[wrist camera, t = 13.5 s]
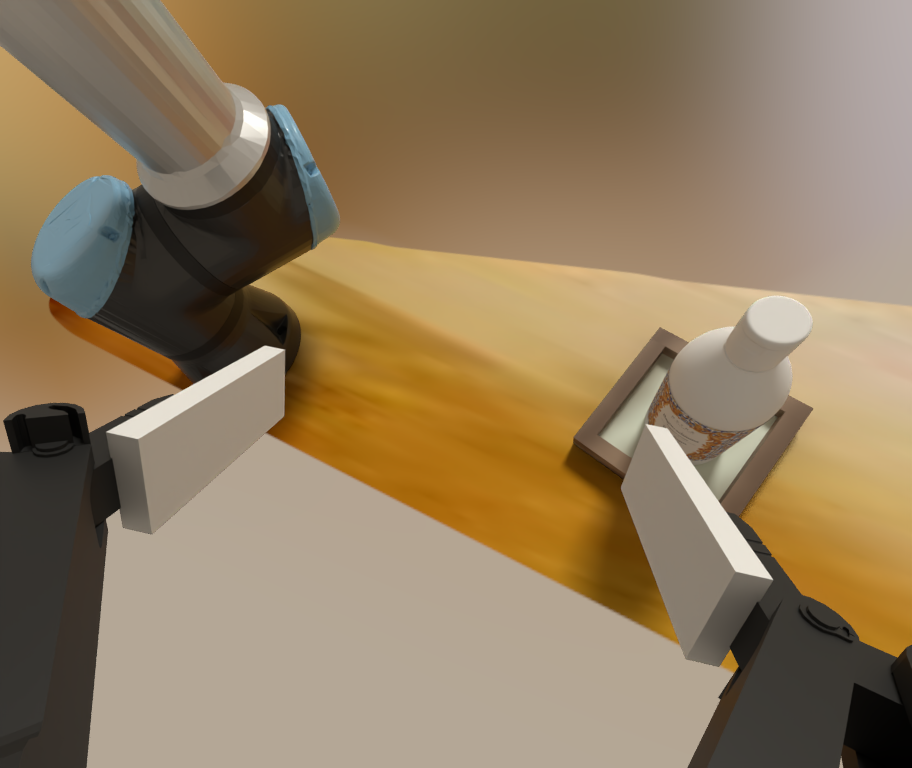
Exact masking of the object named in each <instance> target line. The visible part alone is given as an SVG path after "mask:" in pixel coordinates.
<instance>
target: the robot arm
mask: <svg viewBox="0 0 912 768" xmlns="http://www.w3.org/2000/svg"><path fill="white" fill-rule="evenodd" d="M0 46H1V47H3V48H4V49H5V50H6V51H8V52H9V53H10V54H11V55H12V56H13V57H15V58H16V59H17V60H18V61H20V62H21V63H22V64H23V65H24V66H26V67H27V68H28V69H29V70H30V71H31V72H33V73H34V74H35V75H36V76H37V77H39V78H40V79H41V80H42V81H44V82H45V83H46V84H47V85H48V86H49V87H51V88H52V89H53V90H54V91H55V92H57V93H58V94H59V95H60V96H62V97H63V98H64V99H65V100H66V101H67V102H69V103H70V104H71V105H72V106H73V107H75V108H76V109H77V110H78V111H80V112H81V113H82V114H83V115H84V116H85V117H87V118H88V119H89V120H90V121H91V122H93V123H94V124H95V125H97V127H99V128H100V129H101V130H102V131H104V132H105V133H106V134H107V135H108V136H109V137H111V138H112V139H113V140H114V141H116V142H117V143H118V144H119V145H120V146H122V147H123V148H124V149H125V150H126V151H128V152H129V153H130V154H131V155H132V156H134V157H135V158H136V159H137V171H138V175H139V179H140V181H141V183H142V185H140V186H139V187H137V188H135V189H133V190H132V189H131V188H130V187H129V185H128V184H126V183H125V182H124V181H121V180H118V179H116V178H114V177H112V176H108V175H103V176H101V177H92V178H89V179H87V180H85V181H84V182H82V183H80V184H79V185H77V186H76V187H75V188H73V189H72V190H71V191H70V192H69V193H68V194H67V195H66V196H65V197H64V198H63V199H62V200H61V201H60V202H59V203H58V204H57V205H56V207H55V208H54V209H53V211H52V212H51V213H50V215H49V216H48V218H47V219H46V221H45V223H44V224H43V226H42V228H41V230H40V232H39V234H38V236H37V239H36V241H35V245H34V249H33V252H32V259H31V268H32V274H33V277H34V279H35V282H36V284H37V285H38V287H39V288H40V289H41V290H42V291H43V292H44V293H45V294H47V295H48V296H49V297H51V298H53V299H55V300H56V301H58V302H60V303H61V304H63V305H65V306H66V307H68V308H70V309H71V310H73V311H75V312H76V313H77V314H78V315H79V316H81V317H84V318H88V319H90V320H92V321H94V322H96V323H98V324H100V325H102V326H104V327H106V328H108V329H110V330H113V331H115V332H117V333H119V334H121V335H123V336H125V337H127V338H129V339H131V340H133V341H135V342H137V343H139V344H141V345H143V346H145V347H147V348H149V349H151V350H153V351H155V352H157V353H159V354H161V355H163V356H165V357H167V358H169V359H171V360H172V361H173V362H174V363H175V364H176V365H177V366H178V367H179V368H180V369H181V370H182V372H183V373H184V374H185V375H186V376H187V377H188V378H189V379H190V380H191V381H192V382H193V385H192V386H190V387H188V388H186V389H184V390H182V391H181V392H179V393H177V394H175V395H174V394H172V395H168V396H164V397H161V398H157V399H154V400H151V401H150V402H148V403H146V404H144V405H142V406H140V407H138V408H137V410H135V409H134V410H132V411H130V412H128V413H127V414H125V416H121V417H119V418H117V419H115V420H113V421H111V422H109V423H107V424H106V425H104V426H102V427H100V428H98V429H96V430H94V431H92V432H90V433H89V431H88V426H87V421H86V415H85V411H84V409H83V408H82V407H80V406H78V405H75V404H69V403H48V404H41V405H35V406H32V407H28V408H25V409H21V410H18V411H16V412H14V413H12V414H10V415H9V416H8V417H7V418H5V419H4V421H3V422H4V425H5V429H6V432H7V436H8V439H9V443H10V447H11V450H12V452H0V768H86V767H87V756H88V744H89V734H90V722H91V711H92V700H93V690H94V679H95V668H96V656H97V646H98V634H99V623H100V611H101V601H102V589H103V579H104V568H105V567H104V566H105V556H106V545H107V535H108V528H107V523H106V518H108V517H109V516H111V515H112V514H113V513H114V512H116V511H117V510H118V509H120V514H121V519H122V525H123V528H127V529H131V530H135V531H139V532H144V533H148V534H153V533H154V532H155V531H156V530H157V529H159V528H160V527H161V526H162V525H163V524H164V523H165V522H166V521H168V520H169V519H170V518H171V517H172V516H173V515H174V514H175V513H177V512H178V511H179V510H180V509H181V508H182V507H183V506H184V505H185V504H187V503H188V502H189V501H190V500H191V499H192V498H193V497H194V496H195V495H196V494H198V493H199V492H200V491H201V490H202V489H203V488H204V487H206V486H207V485H208V484H209V483H210V482H211V481H212V480H213V479H214V478H216V476H218V475H219V474H220V473H221V472H222V471H223V470H225V469H226V468H227V467H228V466H229V465H230V464H231V463H232V462H234V461H235V460H236V459H237V458H238V457H239V456H240V455H241V454H243V453H244V452H245V451H246V450H247V449H248V448H249V447H250V446H251V445H253V444H254V443H255V442H256V441H257V440H258V439H259V438H260V437H261V436H262V435H264V434H265V433H266V432H267V431H268V430H269V429H270V428H272V427H273V426H274V425H275V424H276V423H277V422H278V421H279V420H281V419H282V418H283V417H284V406H285V374H286V372H287V371H288V369H289V368H290V366H291V365H292V363H293V361H294V359H295V357H296V354H297V352H298V349H299V344H300V337H301V330H300V324H299V320H298V318H297V316H296V314H295V312H294V311H293V310H292V309H291V308H290V307H289V306H288V305H287V304H286V303H285V302H284V301H282V300H281V299H280V298H279V297H277V296H276V295H274V294H272V293H270V292H267V291H264V290H262V289H259V288H256V287H254V286H251V285H249V284H251V283H253V282H254V281H256V280H258V279H260V278H261V277H263V276H265V275H267V274H269V273H270V272H272V271H274V270H276V269H277V268H279V267H281V266H283V265H285V264H286V263H288V262H290V261H292V260H293V259H295V258H297V257H299V256H301V255H302V254H304V253H306V252H308V251H309V250H313V249H315V247H316V246H317V244H319V243H320V242H322V241H323V240H325V239H326V238H328V237H329V236H330V235H332V234H333V233H335V231H336V230H337V229H338V227H339V223H340V216H339V212H338V210H337V208H336V205H335V202H334V200H333V198H332V196H331V194H330V192H329V189H328V187H327V185H326V183H325V181H324V179H323V177H322V175H321V173H320V171H319V169H318V168H317V166H316V163H315V161H314V159H313V158H312V155H311V153H310V151H309V149H308V147H307V145H306V143H305V141H304V139H303V137H302V135H301V133H300V131H299V129H298V127H297V125H296V124H295V122H294V120H293V118H292V116H291V115H290V113H289V111H288V110H287V108H286V107H284V106H283V105H275V106H268V107H267V108H265V107H264V106H263V104H262V103H261V102H260V101H259V99H258V98H257V97H256V96H255V95H254V94H253V93H251V92H250V91H249V90H247V89H245V88H243V87H241V86H238V85H235V84H229V83H223V82H222V81H221V80H220V79H219V77H218V76H217V75H216V73H215V72H214V71H213V69H212V68H211V67H210V65H209V64H208V63H207V61H206V60H205V59H204V57H203V56H202V55H201V53H200V52H199V51H198V49H197V48H196V47H195V46H194V44H193V43H192V42H191V41H190V39H189V38H188V36H187V35H186V34H185V32H184V31H183V30H182V28H181V27H180V26H179V24H178V23H177V22H176V20H175V19H174V18H173V16H172V15H171V14H170V13H169V11H168V10H167V9H166V7H165V6H164V5H163V3H162V2H161V1H160V0H0ZM621 491H622V493H623V496H624V498H625V501H626V504H627V506H628V509H629V512H630V514H631V517H632V519H633V522H634V525H635V527H636V530H637V533H638V535H639V538H640V541H641V543H642V546H643V548H644V551H645V554H646V556H647V559H648V562H649V564H650V567H651V569H652V572H653V575H654V577H655V580H656V583H657V585H658V588H659V590H660V593H661V596H662V598H663V601H664V604H665V606H666V609H667V612H668V614H669V617H670V619H671V622H672V625H673V627H674V630H675V633H676V635H677V638H678V640H679V643H680V646H681V648H682V651H683V654H684V656H685V659H687V660H692V661H696V662H701V663H704V664H709V665H713V666H717V667H719V666H720V665H721V663H722V661H723V660H724V658H725V657H726V655H727V653H728V652H729V650H730V649H731V651H732V653H733V655H734V657H735V659H736V661H737V663H738V665H739V667H738V668H737V670H736V671H735V673H734V674H733V676H732V678H731V679H730V680H729V682H728V684H727V685H726V687H725V688H724V690H723V691H722V693H721V694H720V696H719V698H720V699H721V700H720V702H719V705H718V706H717V708H716V710H715V712H714V715H713V717H712V719H711V721H710V723H709V725H708V727H707V729H706V731H705V733H704V735H703V737H702V739H701V741H700V743H699V745H698V747H697V749H696V751H695V753H694V755H693V757H692V760H691V762H690V764H689V766H688V768H839V765H840V759H841V757H842V763H843V768H912V645H910V646H908V647H907V648H906V649H905V650H904V651H903V652H902V653H901V654H900V656H899V657H898V658H897V657H895V656H892V655H890V654H888V653H885V652H883V651H881V650H879V649H876V648H874V647H872V646H870V645H867V644H865V643H863V642H860V641H859V637H858V635H857V634H856V632H855V631H854V630H853V628H852V627H851V625H850V624H848V623H847V622H846V621H845V620H844V619H843V618H842V617H841V616H840V615H839V614H837V613H836V612H835V611H833V610H832V609H830V608H829V607H827V606H826V605H824V604H822V603H820V602H818V601H816V600H814V599H812V598H810V597H807V596H803V595H801V593H800V592H799V590H798V589H797V588H796V586H795V585H794V584H793V582H792V581H791V580H790V578H789V577H788V576H787V574H786V573H785V572H784V570H783V569H782V568H781V566H780V565H779V564H778V562H777V561H776V560H775V558H774V557H771V553H770V552H769V550H768V549H767V548H766V546H765V545H762V543H763V542H762V541H761V540H760V538H759V537H758V535H757V534H756V533H755V531H754V530H753V529H752V528H751V527H750V526H749V525H748V524H747V523H745V522H744V521H743V520H742V519H741V518H740V517H738V516H737V515H736V514H734V513H729V512H726V511H725V510H724V509H723V507H722V506H721V504H720V503H719V501H718V500H717V499H716V497H715V496H714V494H713V493H712V491H711V490H710V489H709V487H708V486H707V484H706V483H705V481H704V480H703V479H702V477H701V476H700V474H699V473H698V471H697V470H696V468H695V467H694V466H693V464H692V463H691V461H690V460H689V458H688V457H687V456H686V454H685V453H684V451H683V450H682V448H681V447H680V446H679V444H678V443H677V441H676V440H675V438H674V437H673V436H672V434H671V433H670V431H669V430H668V429H667V428H663V427H658V426H653V425H648V424H645V427H644V429H643V432H642V434H641V437H640V440H639V442H638V445H637V447H636V450H635V452H634V455H633V458H632V460H631V463H630V465H629V468H628V470H627V473H626V476H625V478H624V481H623V483H622V486H621Z"/></svg>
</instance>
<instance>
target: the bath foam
mask: <svg viewBox="0 0 912 768" xmlns="http://www.w3.org/2000/svg"><path fill="white" fill-rule="evenodd" d="M812 325H813V321H812V317H811V314H810V312H809V311H808V310H807V308H806V307H805V306H804V305H802V304H801V303H800V302H798V301H796V300H794V299H791V298H788V297H784V296H769V297H764V298H762V299H759V300H757V301H756V302H754V303H753V304H752V305H751V306H750V307H749V308H748V309H747V311H746V312H745V313H744V315H743V316H742V318H741V319H740V320H739V322H738V323H737V325H736V326H735V327H724V328H719V329H715V330H712V331H709V332H706V333H704V334H702V335H700V336H698V337H697V338H695V339H693V340H692V341H691V342H689V343H688V344H687V345H686V346H685V347H684V348H683V349H682V350H681V351H680V352H679V353H678V354H677V356H676V357H675V359H674V360H673V362H672V364H671V366H670V368H669V370H668V372H667V374H666V376H665V377H664V379H663V381H662V383H661V385H660V387H659V389H658V391H657V393H656V395H655V397H654V399H653V401H652V402H651V405H650V407H649V409H648V411H647V413H646V417H645V424H648V425H653V426H658V427H663V428H667V429H668V430H669V431H670V433H671V434H672V436H673V437H674V438H675V440H676V441H677V443H678V444H679V446H680V447H681V448H682V450H683V451H684V453H685V454H686V456H687V457H688V458H689V460H690V461H691V463H692V464H693V465H699V464H703V463H707V462H709V461H711V460H713V459H714V458H716V457H717V456H719V455H720V454H722V453H723V452H725V451H726V450H728V449H729V448H730V447H732V446H733V445H735V444H736V443H738V442H739V441H740V440H742V439H743V438H745V437H746V436H748V435H749V434H750V433H752V432H753V431H755V430H756V429H757V428H759V427H760V426H762V425H763V424H765V423H766V422H767V421H769V420H770V419H771V418H772V417H773V416H775V415H776V413H777V412H778V411H779V410H780V408H781V407H782V406H783V404H784V403H785V401H786V399H787V397H788V395H789V392H790V389H791V385H792V368H791V364H790V361H789V358H788V355H789V354H790V353H791V352H792V351H793V350H795V349H796V348H797V347H798V346H799V345H800V344H801V343H802V342H803V341H804V340H805V339H806V338H807V337H808V335H809V334H810V332H811V330H812Z"/></svg>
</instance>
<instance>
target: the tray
mask: <svg viewBox="0 0 912 768" xmlns="http://www.w3.org/2000/svg"><path fill="white" fill-rule="evenodd" d="M688 343H689V342H687V341H685V340H683V339H681V338H679V337H677V336H675V335H674V334H672V333H670V332H668V331H666V330H664V329H662V328H659V329H658V330H657V332H656V333H655V334H654V336H653V337H652V338H651V339H650V341H649V342H648V343H647V344H646V346H645V347H644V348H643V350H642V351H641V352H640V353H639V355H638V356H637V357H636V358H635V360H634V361H633V362H632V364H631V365H630V366H629V367H628V369H627V370H626V371H625V372H624V374H623V375H622V376H621V378H620V379H619V380H618V381H617V383H616V384H615V385H614V386H613V388H612V389H611V390H610V392H609V393H608V394H607V395H606V397H605V398H604V399H603V400H602V402H601V403H600V404H599V406H598V407H597V408H596V409H595V411H594V412H593V413H592V414H591V416H590V417H589V418H588V420H587V421H586V422H585V423H584V425H583V426H582V427H581V429H580V430H579V431H578V432H577V434H576V435H575V436H574V440H573V443H574V444H575V445H576V446H578V447H579V448H581V449H582V450H583V451H585V452H586V453H588V454H589V455H590V456H592V457H593V458H595V459H596V460H597V461H599V462H600V463H602V464H603V465H604V466H606V467H607V468H609V469H610V470H611V471H613V472H614V473H616V474H617V475H618V476H620V477H621V478H623V479H624V478H625V476H626V473H627V470H628V468H629V465H630V463H631V460H632V458H633V455H634V452H635V450H636V447H637V445H638V442H639V440H640V437H641V434H642V432H643V429H644V427H645V417H646V413H647V411H648V409H649V407H650V405H651V402H652V401H653V399H654V397H655V395H656V393H657V391H658V389H659V387H660V385H661V383H662V381H663V379H664V377H665V376H666V374H667V372H668V370H669V368H670V366H671V364H672V362H673V360H674V359H675V357H676V356H677V354H678V353H679V352H680V351H681V350H682V349H683V348H684V347H685V346H686V345H687V344H688ZM812 410H813V408H812V407H810V406H808V405H806V404H804V403H802V402H800V401H798V400H796V399H795V398H793V397H791V396H789V395H788V397H787V399H786V401H785V403H784V404H783V406H782V407H781V408H780V410H779V411H778V412H777V413H776V415H775V416H773V417H772V418H771V419H770V420H769V421H767V422H766V423H765V424H763V425H762V426H760V427H759V428H757V429H756V430H755V431H753V432H752V433H750V434H749V435H748V436H746V437H745V438H743V439H742V440H740V441H739V442H738V443H736V444H735V445H733V446H732V447H730V448H729V449H728V450H726V451H725V452H723V453H722V454H720V455H719V456H717V457H716V458H714V459H713V460H711V461H709V462H707V463H703V464H699V465H693V466H694V467H695V468H696V470H697V471H698V473H699V474H700V476H701V477H702V479H703V480H704V481H705V483H706V484H707V486H708V487H709V489H710V490H711V491H712V493H713V494H714V496H715V497H716V499H717V500H718V501H719V503H720V504H721V506H722V507H723V509H724V510H725V511H726V512H729V513H734V514H736V515H737V516H738V517H739V515H740V514H741V512H742V511H743V510H744V508H745V507H746V505H747V504H748V502H749V501H750V499H751V498H752V497H753V495H754V494H755V492H756V491H757V489H758V488H759V486H760V485H761V484H762V482H763V481H764V479H765V478H766V476H767V475H768V473H769V472H770V471H771V469H772V468H773V466H774V465H775V463H776V462H777V460H778V459H779V458H780V456H781V455H782V453H783V452H784V450H785V449H786V447H787V446H788V445H789V443H790V442H791V440H792V439H793V437H794V436H795V434H796V433H797V432H798V430H799V429H800V427H801V426H802V424H803V423H804V421H805V420H806V419H807V417H808V416H809V414H810V413H811V411H812Z"/></svg>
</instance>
